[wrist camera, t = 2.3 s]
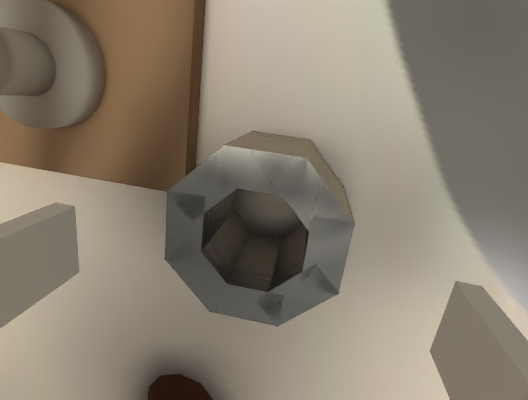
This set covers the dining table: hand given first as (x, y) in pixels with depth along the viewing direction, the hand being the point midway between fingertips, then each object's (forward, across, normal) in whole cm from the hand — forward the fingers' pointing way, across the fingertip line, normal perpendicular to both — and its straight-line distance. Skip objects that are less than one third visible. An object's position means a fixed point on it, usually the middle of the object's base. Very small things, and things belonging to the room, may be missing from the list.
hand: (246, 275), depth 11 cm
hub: (+9, 0, 0) cm, 9 cm away
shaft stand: (+9, -14, +6) cm, 17 cm away
